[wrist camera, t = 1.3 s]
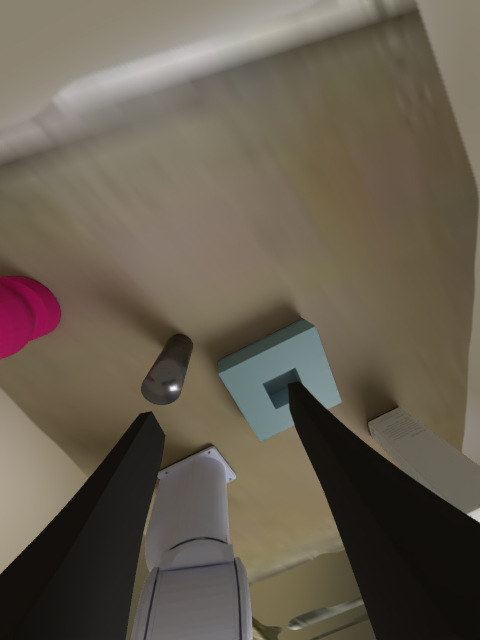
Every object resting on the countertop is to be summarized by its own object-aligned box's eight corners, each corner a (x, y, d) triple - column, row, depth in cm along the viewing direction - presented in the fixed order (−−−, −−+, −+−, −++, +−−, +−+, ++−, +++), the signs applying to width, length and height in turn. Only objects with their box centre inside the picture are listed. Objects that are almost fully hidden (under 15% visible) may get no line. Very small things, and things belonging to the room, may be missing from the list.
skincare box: (371, 437, 31) (461, 538, 20) (365, 420, 30) (460, 517, 18) (403, 422, 31) (513, 514, 20) (399, 403, 30) (516, 491, 18)
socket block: (255, 423, 27) (260, 441, 24) (217, 360, 23) (218, 374, 20) (328, 387, 27) (342, 402, 24) (302, 318, 23) (315, 326, 20)
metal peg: (175, 360, 22) (155, 410, 15) (162, 341, 21) (132, 383, 14) (197, 350, 22) (188, 394, 15) (184, 329, 21) (167, 366, 14)
